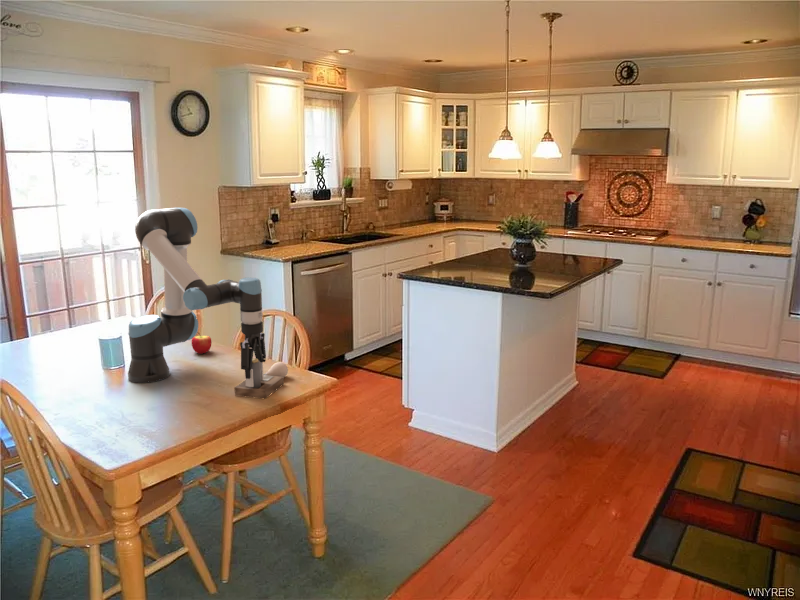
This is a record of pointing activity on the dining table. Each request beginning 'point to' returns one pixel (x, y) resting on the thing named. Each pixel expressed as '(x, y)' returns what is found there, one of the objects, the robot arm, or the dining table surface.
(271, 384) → the wooden socket board
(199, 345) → the apple
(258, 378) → the plug
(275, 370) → the light bulb
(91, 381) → the dining table surface
